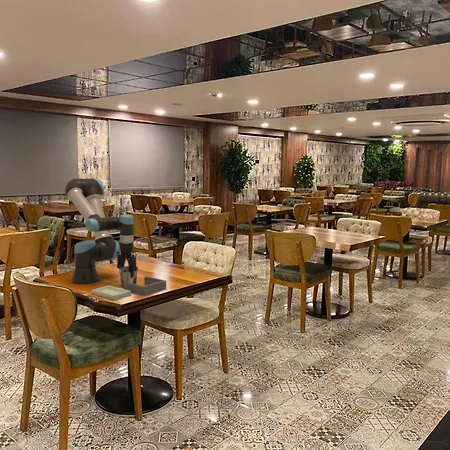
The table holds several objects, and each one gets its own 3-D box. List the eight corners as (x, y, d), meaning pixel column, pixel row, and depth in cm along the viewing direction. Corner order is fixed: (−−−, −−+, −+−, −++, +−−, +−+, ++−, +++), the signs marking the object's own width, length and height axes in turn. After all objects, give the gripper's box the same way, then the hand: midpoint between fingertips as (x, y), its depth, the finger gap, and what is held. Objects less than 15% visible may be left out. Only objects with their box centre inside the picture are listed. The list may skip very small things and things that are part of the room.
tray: (91, 294, 232) (91, 289, 231) (108, 289, 241) (108, 285, 241) (114, 300, 222) (114, 295, 222) (130, 295, 231) (130, 291, 231)
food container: (131, 281, 257) (131, 264, 256) (138, 283, 254) (138, 266, 252) (114, 285, 248) (114, 268, 247) (121, 287, 244) (121, 269, 243)
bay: (123, 290, 240) (123, 282, 239) (145, 284, 254) (145, 276, 253) (143, 296, 231) (143, 286, 230) (166, 289, 245) (166, 280, 245)
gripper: (110, 240, 250) (110, 280, 253) (133, 245, 239) (133, 286, 242) (120, 239, 256) (120, 277, 259) (143, 243, 245) (143, 283, 248)
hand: (126, 281), depth 250 cm, fingers closed on food container, 6 cm apart
